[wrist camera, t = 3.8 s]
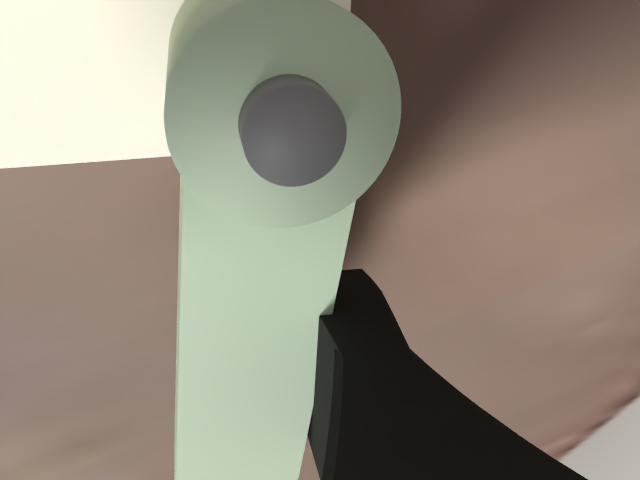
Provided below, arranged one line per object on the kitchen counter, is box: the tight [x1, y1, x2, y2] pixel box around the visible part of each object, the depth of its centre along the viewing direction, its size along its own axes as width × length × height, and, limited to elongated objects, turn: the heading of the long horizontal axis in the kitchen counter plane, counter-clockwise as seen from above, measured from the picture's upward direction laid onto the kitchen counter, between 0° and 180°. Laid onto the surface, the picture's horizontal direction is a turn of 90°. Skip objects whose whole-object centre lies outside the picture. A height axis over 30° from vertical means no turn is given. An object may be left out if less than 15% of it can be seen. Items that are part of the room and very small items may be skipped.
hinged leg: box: [164, 0, 401, 480], centre depth 8 cm, size 9×2×3 cm, turn 171°
